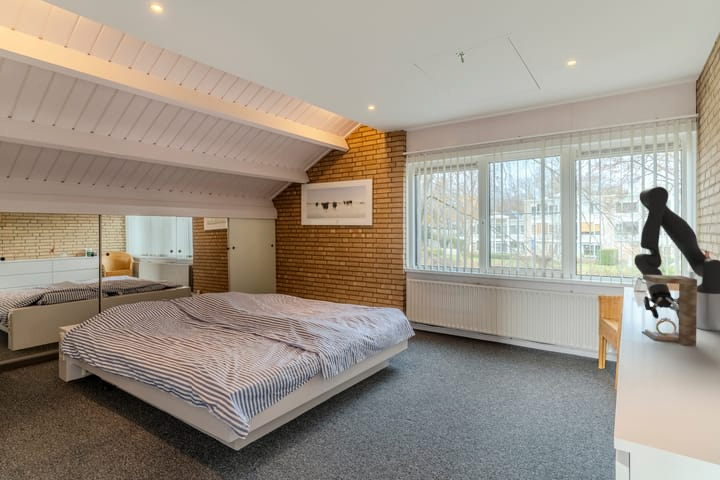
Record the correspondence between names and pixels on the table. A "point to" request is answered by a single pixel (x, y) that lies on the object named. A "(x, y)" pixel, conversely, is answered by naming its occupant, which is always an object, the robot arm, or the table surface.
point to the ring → (666, 321)
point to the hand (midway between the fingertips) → (668, 318)
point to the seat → (661, 336)
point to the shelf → (683, 305)
